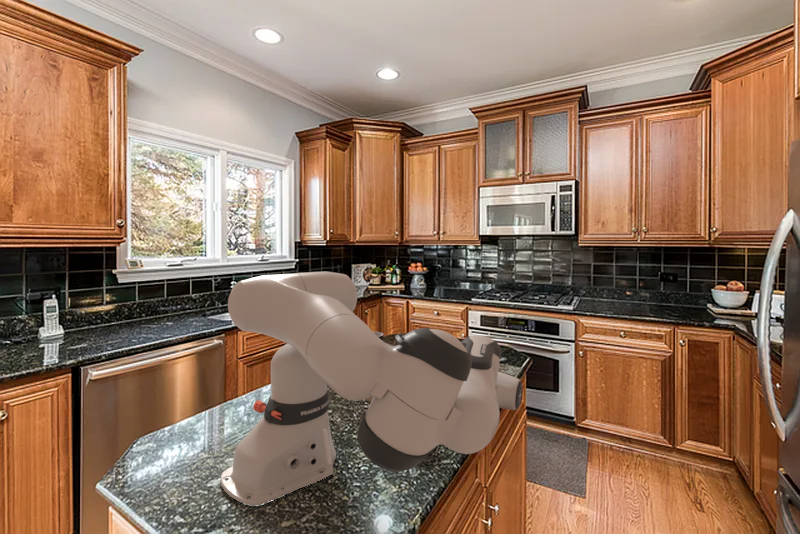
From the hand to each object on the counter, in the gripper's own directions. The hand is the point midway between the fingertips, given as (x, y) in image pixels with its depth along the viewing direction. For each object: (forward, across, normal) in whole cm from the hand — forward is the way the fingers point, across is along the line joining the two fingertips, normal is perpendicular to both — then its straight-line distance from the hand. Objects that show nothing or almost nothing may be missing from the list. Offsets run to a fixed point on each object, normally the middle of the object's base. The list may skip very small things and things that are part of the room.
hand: (423, 369), depth 114 cm
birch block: (+7, -12, -7) cm, 16 cm away
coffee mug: (+33, +11, -7) cm, 36 cm away
